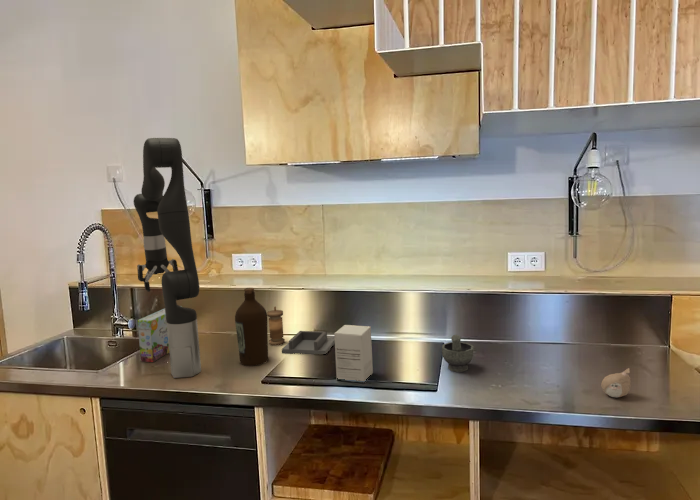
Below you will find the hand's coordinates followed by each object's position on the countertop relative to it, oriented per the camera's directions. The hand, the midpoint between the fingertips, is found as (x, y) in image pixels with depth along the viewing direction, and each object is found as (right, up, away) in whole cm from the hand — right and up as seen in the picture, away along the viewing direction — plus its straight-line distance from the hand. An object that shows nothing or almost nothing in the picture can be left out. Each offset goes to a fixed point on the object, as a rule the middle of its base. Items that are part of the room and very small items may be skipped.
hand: (160, 289), depth 193 cm
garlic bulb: (+141, -24, -58) cm, 155 cm away
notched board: (+57, -20, -8) cm, 61 cm away
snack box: (+4, -23, -6) cm, 24 cm away
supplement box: (+73, -24, -38) cm, 86 cm away
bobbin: (+44, -20, -2) cm, 49 cm away
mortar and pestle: (+105, -22, -35) cm, 113 cm away
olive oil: (+39, -23, -20) cm, 50 cm away
